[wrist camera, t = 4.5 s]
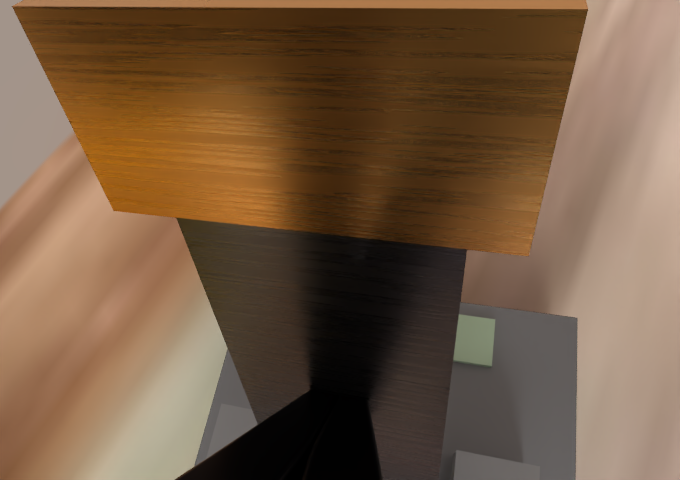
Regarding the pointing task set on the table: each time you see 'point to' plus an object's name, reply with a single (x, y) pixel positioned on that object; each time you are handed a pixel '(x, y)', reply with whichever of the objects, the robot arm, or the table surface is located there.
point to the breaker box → (476, 399)
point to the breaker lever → (325, 172)
